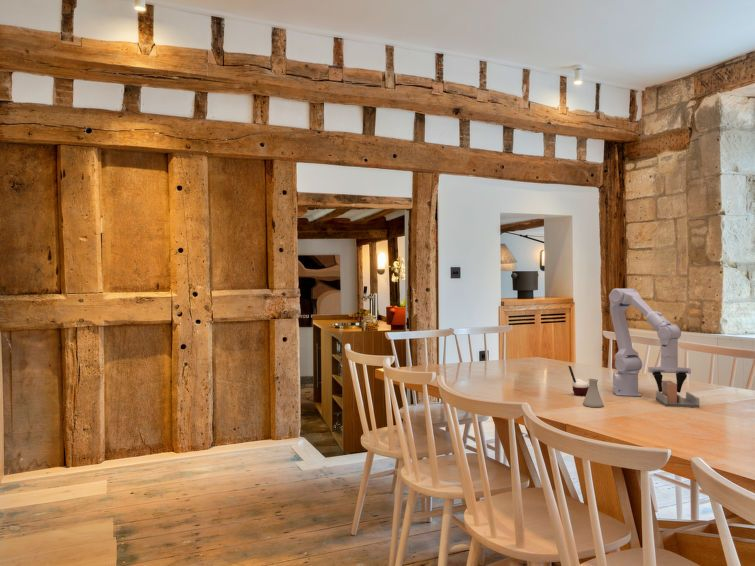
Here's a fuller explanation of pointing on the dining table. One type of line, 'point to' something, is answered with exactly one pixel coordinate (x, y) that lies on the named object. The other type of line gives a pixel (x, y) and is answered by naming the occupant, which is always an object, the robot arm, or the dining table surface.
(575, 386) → the cocoa
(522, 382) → the dining table surface
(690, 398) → the dish rack
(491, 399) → the dining table surface
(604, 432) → the dining table surface
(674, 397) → the terracotta tile
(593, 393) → the flask
